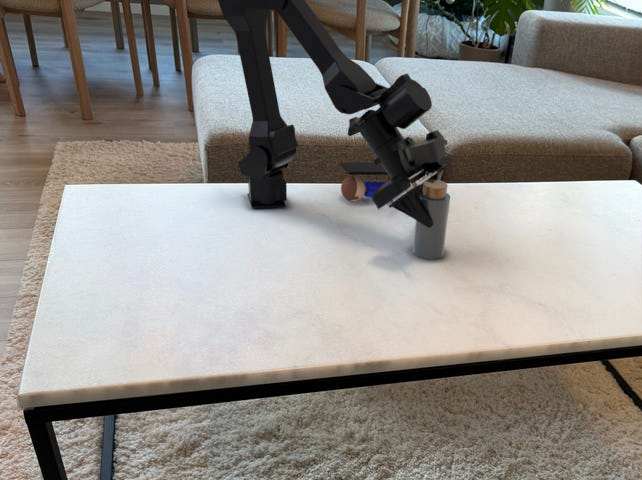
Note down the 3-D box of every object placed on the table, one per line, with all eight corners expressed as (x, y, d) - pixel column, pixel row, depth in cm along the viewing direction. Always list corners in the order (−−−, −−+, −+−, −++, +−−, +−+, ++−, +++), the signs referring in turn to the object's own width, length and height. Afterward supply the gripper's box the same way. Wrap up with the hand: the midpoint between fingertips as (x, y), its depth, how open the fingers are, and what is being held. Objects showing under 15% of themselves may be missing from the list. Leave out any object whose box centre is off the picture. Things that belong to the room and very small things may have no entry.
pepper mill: (418, 260, 122) (425, 190, 115) (408, 246, 126) (414, 178, 119) (447, 258, 124) (456, 189, 116) (437, 244, 128) (445, 177, 121)
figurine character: (401, 196, 149) (334, 193, 142) (407, 162, 145) (339, 157, 138) (413, 208, 144) (345, 206, 137) (420, 173, 140) (350, 169, 133)
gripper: (393, 130, 106) (450, 216, 109) (444, 106, 120) (492, 182, 123) (347, 167, 112) (402, 247, 115) (400, 140, 127) (448, 212, 130)
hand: (438, 220), depth 121 cm, fingers closed on pepper mill, 5 cm apart
